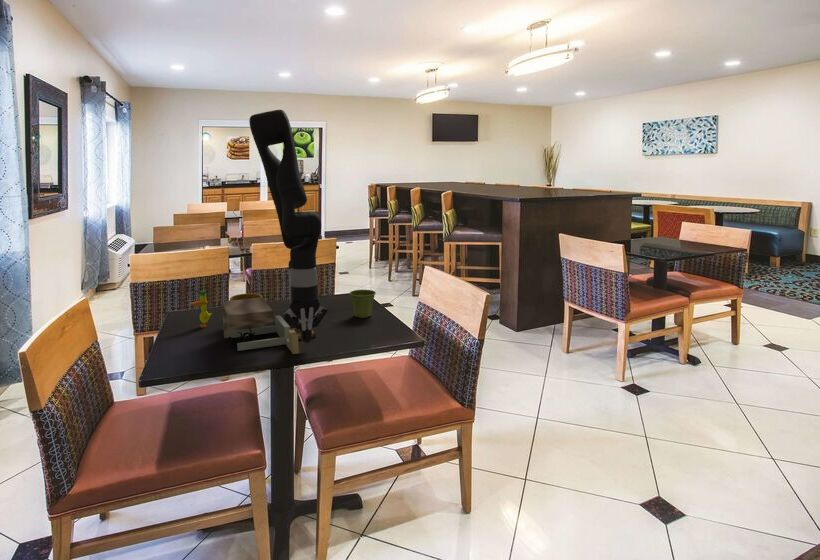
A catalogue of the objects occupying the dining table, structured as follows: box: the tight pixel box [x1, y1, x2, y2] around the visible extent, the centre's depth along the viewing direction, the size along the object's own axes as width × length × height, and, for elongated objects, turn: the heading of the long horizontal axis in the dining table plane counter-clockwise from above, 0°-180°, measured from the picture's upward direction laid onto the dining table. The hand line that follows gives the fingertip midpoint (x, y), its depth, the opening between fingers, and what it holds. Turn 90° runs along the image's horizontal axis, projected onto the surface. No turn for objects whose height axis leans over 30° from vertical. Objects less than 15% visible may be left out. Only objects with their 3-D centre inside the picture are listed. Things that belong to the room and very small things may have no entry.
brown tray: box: [290, 327, 316, 341], centre depth 157 cm, size 7×8×1 cm
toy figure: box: [189, 291, 213, 329], centre depth 165 cm, size 7×4×12 cm, turn 126°
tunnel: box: [221, 297, 274, 339], centre depth 149 cm, size 12×17×12 cm
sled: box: [231, 314, 300, 355], centre depth 147 cm, size 15×24×6 cm, turn 26°
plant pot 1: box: [229, 292, 263, 301], centre depth 168 cm, size 10×10×10 cm
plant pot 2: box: [349, 289, 377, 319], centre depth 179 cm, size 9×9×9 cm
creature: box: [228, 327, 256, 346], centre depth 147 cm, size 8×5×8 cm
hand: (306, 341), depth 144 cm, fingers closed
